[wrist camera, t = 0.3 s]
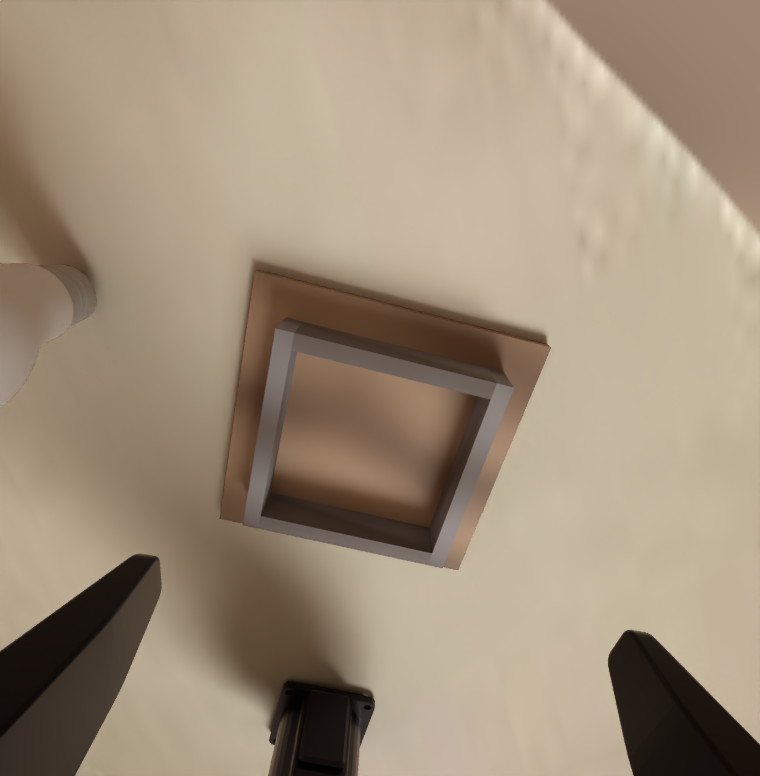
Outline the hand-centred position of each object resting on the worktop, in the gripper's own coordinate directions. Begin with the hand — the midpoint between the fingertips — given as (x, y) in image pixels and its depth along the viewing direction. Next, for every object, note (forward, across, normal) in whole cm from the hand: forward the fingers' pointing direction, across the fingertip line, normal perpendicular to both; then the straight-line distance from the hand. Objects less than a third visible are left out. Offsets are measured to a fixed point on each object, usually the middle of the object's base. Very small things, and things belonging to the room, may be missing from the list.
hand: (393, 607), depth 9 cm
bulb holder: (+14, 0, +6) cm, 15 cm away
